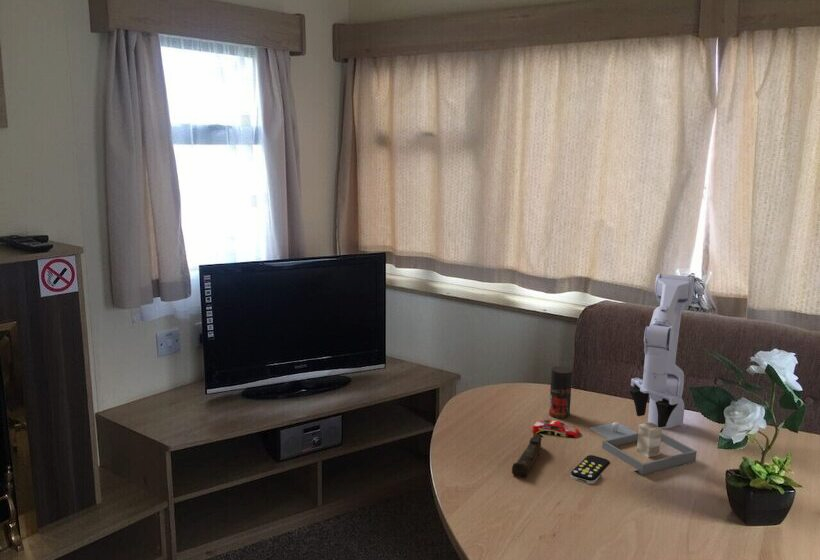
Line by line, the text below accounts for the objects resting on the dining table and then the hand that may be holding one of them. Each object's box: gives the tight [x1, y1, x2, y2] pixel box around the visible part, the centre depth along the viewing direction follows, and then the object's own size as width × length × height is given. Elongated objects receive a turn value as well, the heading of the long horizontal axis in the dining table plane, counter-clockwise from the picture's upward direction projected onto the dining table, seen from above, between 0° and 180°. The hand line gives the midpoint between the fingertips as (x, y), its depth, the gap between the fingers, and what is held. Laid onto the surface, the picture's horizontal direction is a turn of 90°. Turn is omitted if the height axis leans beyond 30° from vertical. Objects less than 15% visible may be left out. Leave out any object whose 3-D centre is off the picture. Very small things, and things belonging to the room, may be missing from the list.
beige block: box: [636, 422, 663, 458], centre depth 190 cm, size 4×4×8 cm
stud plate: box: [589, 421, 637, 440], centre depth 204 cm, size 10×10×4 cm
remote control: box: [570, 454, 611, 485], centre depth 183 cm, size 6×13×2 cm, turn 145°
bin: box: [601, 432, 697, 477], centre depth 191 cm, size 18×15×3 cm
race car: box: [531, 419, 582, 439], centre depth 204 cm, size 13×5×4 cm, turn 72°
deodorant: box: [548, 365, 573, 420], centre depth 214 cm, size 6×6×15 cm
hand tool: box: [511, 433, 542, 479], centre depth 188 cm, size 19×4×5 cm, turn 153°
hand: (651, 420), depth 189 cm, fingers open, 7 cm apart
